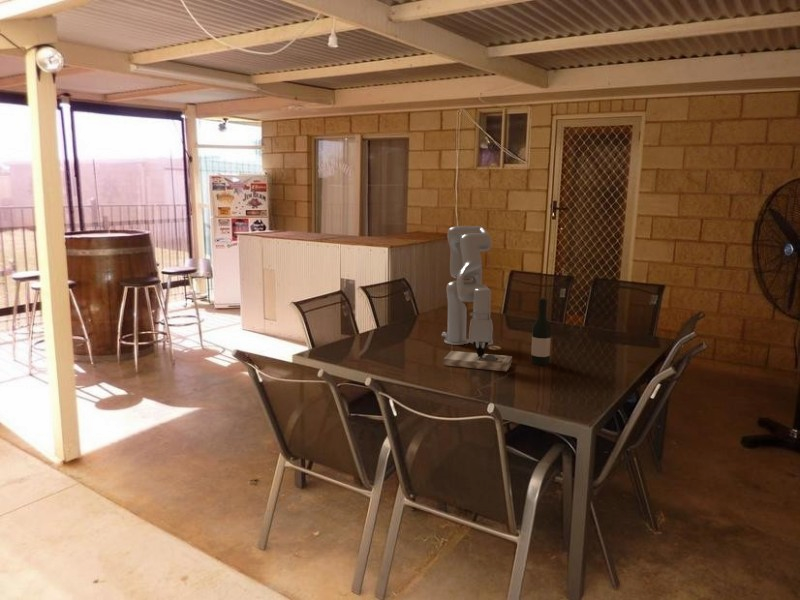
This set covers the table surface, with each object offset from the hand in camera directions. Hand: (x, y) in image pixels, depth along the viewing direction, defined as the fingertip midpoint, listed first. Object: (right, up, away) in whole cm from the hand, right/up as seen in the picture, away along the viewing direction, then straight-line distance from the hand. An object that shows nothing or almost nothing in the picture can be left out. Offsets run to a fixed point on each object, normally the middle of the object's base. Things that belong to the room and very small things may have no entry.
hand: (480, 356), depth 270 cm
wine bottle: (+27, -4, +2) cm, 27 cm away
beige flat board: (-1, -4, +1) cm, 4 cm away
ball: (+4, -1, -1) cm, 5 cm away
